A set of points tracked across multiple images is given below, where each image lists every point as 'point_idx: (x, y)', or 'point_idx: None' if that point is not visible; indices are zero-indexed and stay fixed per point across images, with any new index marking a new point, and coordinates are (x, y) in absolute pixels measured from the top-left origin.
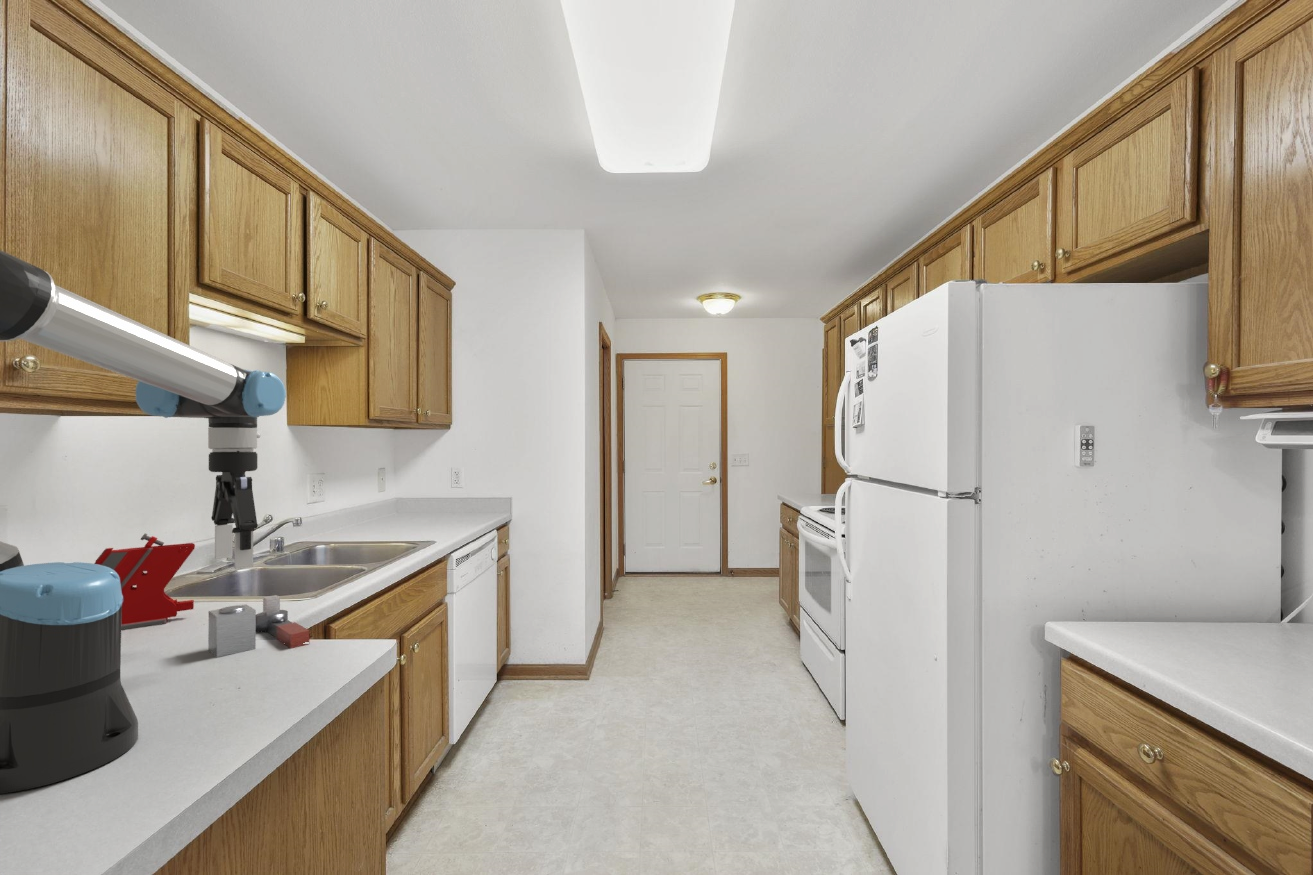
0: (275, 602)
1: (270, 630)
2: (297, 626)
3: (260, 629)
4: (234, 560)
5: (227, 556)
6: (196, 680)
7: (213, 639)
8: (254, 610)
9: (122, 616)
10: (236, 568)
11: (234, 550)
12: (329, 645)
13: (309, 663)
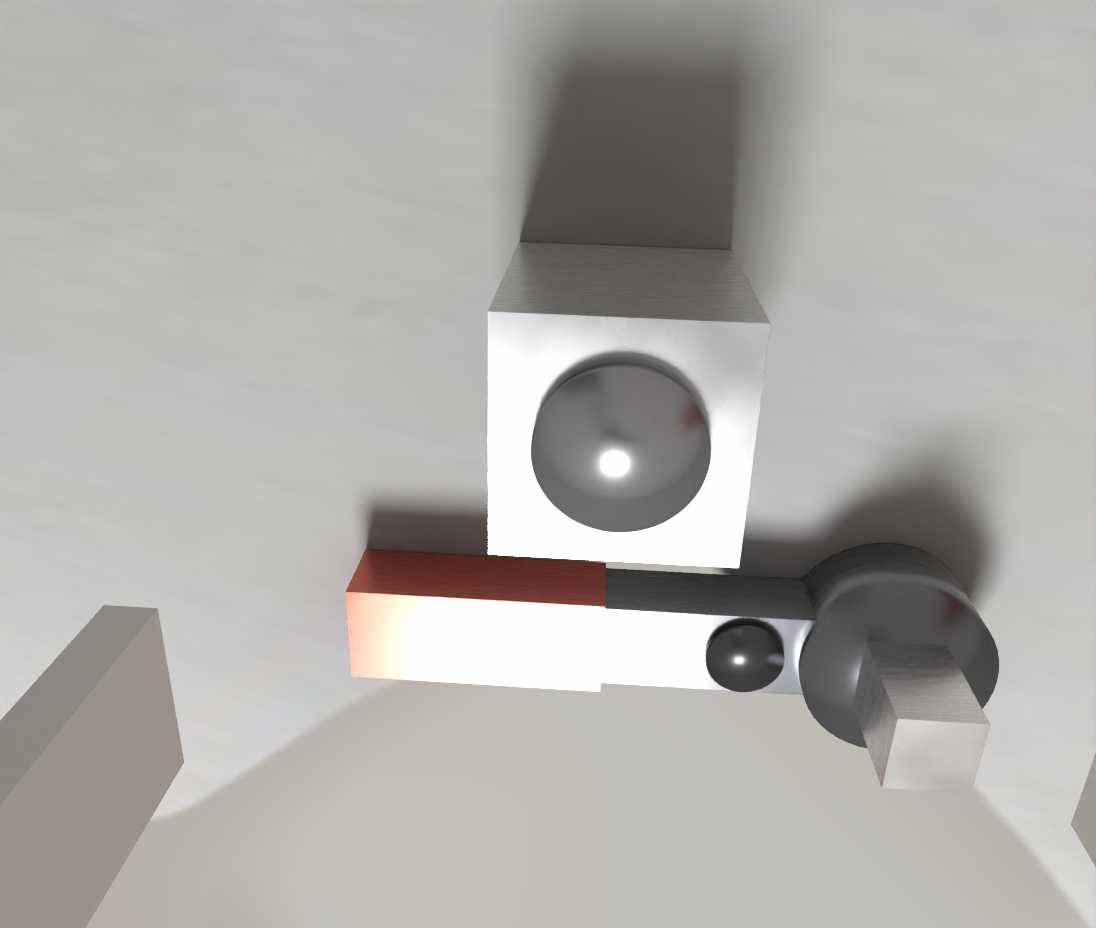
0: (877, 739)
1: (748, 587)
2: (490, 668)
3: (841, 563)
4: (104, 673)
5: (1091, 792)
6: (145, 42)
7: (602, 267)
8: (489, 546)
9: None
10: (102, 616)
11: (17, 779)
12: (268, 673)
13: (39, 518)
